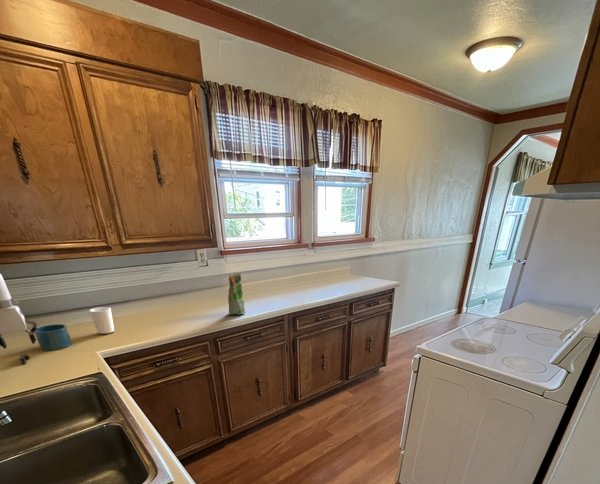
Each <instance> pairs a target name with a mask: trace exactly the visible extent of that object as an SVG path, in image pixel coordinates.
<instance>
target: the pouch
mask: <svg viewBox="0 0 600 484" xmlns="http://www.w3.org/2000/svg"><path fill="white" fill-rule="evenodd" d="M228 286H229V287H228V290H227V291H228V295H227V299H228V314H229V315H230V314H231V315H238V316H241V315H240V314H244V313H245V314H246V309H245V301H244V299H243V295H244V293H243V285H242V274H241V273H240V272H237V273H234V274H232V275H231V274H230V275H228ZM245 314H244V315H245Z"/></svg>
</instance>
